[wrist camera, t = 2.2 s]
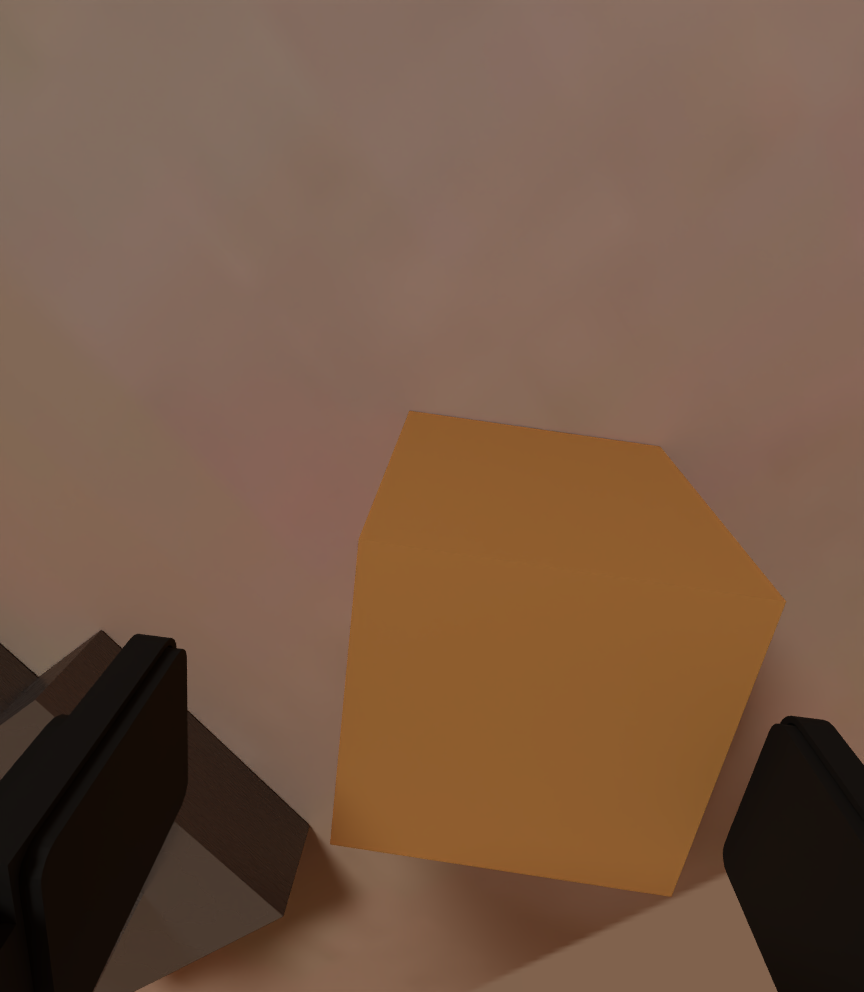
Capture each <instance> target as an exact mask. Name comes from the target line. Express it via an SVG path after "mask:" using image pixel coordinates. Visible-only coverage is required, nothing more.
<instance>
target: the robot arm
mask: <svg viewBox="0 0 864 992" xmlns="http://www.w3.org/2000/svg"><path fill="white" fill-rule="evenodd" d="M187 785H188V724H187V655H186V651H185V650H184V649H178V648H176V643H175V640H174V639H172V638H166V637H158V636H151V635H143V634H136V635H134V636H133V637H132V638H131V639H130V640H129V641H128V642H127V644H126V645H125V646H124V647H123V649H122V650H121V651H120V652H119V654H118V655H117V656H116V657H115V659H114V660H113V661H112V662H111V664H110V665H109V666H108V667H107V669H106V670H105V671H104V672H103V674H102V675H101V676H100V677H99V678H98V680H97V681H96V682H95V683H94V685H93V686H92V687H91V688H90V690H89V691H88V692H87V693H86V695H85V696H84V697H83V698H82V700H81V701H80V702H79V703H78V705H77V706H76V707H75V708H74V710H73V711H72V712H71V713H70V715H65V714H61V715H58V716H56V717H54V718H53V719H52V720H51V721H50V722H49V723H48V724H47V725H46V726H45V727H44V729H43V730H42V731H41V732H40V733H39V735H38V736H37V737H36V738H35V739H34V740H33V742H32V743H31V744H30V745H29V746H28V748H27V749H26V750H25V751H24V752H23V754H22V755H21V756H20V757H19V758H18V760H17V761H16V762H15V763H14V764H13V766H12V767H11V768H10V769H9V770H8V772H7V773H6V774H5V775H4V776H3V778H2V779H1V780H0V992H93V990H94V988H95V986H96V984H97V982H98V980H99V978H100V976H101V973H102V971H103V969H104V967H105V965H106V963H107V961H108V959H109V957H110V955H111V953H112V950H113V948H114V946H115V944H116V942H117V940H118V938H119V936H120V934H121V932H122V930H123V927H124V925H125V923H126V921H127V919H128V917H129V915H130V913H131V911H132V909H133V906H134V904H135V902H136V900H137V898H138V896H139V894H140V892H141V890H142V888H143V886H144V883H145V881H146V879H147V877H148V875H149V873H150V871H151V869H152V867H153V865H154V863H155V860H156V858H157V856H158V854H159V852H160V850H161V848H162V846H163V844H164V842H165V839H166V837H167V835H168V833H169V831H170V829H171V827H172V825H173V823H174V821H175V819H176V816H177V814H178V812H179V810H180V808H181V806H182V804H183V801H184V798H185V795H186V790H187ZM723 861H724V867H725V870H726V872H727V875H728V877H729V879H730V882H731V884H732V886H733V888H734V891H735V893H736V896H737V898H738V900H739V903H740V905H741V907H742V910H743V912H744V914H745V917H746V919H747V921H748V924H749V926H750V928H751V931H752V933H753V935H754V938H755V940H756V942H757V945H758V947H759V949H760V951H761V954H762V956H763V958H764V961H765V963H766V966H767V968H768V970H769V972H770V975H771V977H772V980H773V982H774V984H775V987H776V989H777V991H778V992H864V765H863V764H862V762H861V761H860V760H859V758H858V757H857V756H856V755H855V753H854V752H853V751H852V749H851V748H850V747H849V746H848V744H847V743H846V742H845V740H844V739H843V738H842V736H841V735H840V734H839V733H838V731H837V730H836V729H835V727H834V726H833V725H832V724H831V723H829V722H828V721H825V720H820V719H812V718H804V717H796V716H787V717H785V718H784V719H783V720H782V721H781V723H780V724H774V725H773V726H772V727H771V729H770V731H769V733H768V736H767V738H766V741H765V743H764V746H763V748H762V751H761V753H760V756H759V758H758V761H757V763H756V766H755V768H754V771H753V773H752V776H751V778H750V781H749V783H748V786H747V788H746V791H745V793H744V796H743V798H742V801H741V803H740V806H739V809H738V811H737V814H736V816H735V819H734V821H733V824H732V826H731V829H730V831H729V834H728V836H727V839H726V841H725V844H724V848H723Z"/></svg>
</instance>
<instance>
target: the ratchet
mask: <svg viewBox="0 0 864 992" xmlns="http://www.w3.org/2000/svg"><path fill="white" fill-rule="evenodd" d="M121 650H122V649H121V648H120V647H119V646H117V645H116V644H115V643H114V642H113V641H112V640H111V639H110V638H109V637H108V636H107V635H106V634H105V633H104V632H103V631H102V630H100V631H99V632H98V633H96V634H95V635H94V636H92V637H91V638H90V639H89V640H87V641H86V642H85V643H83V644H82V645H81V646H79V647H78V648H77V649H75V650H74V651H73V652H71V653H70V654H69V655H67V656H66V657H65V658H63V659H62V660H61V661H59V662H58V663H57V664H55V665H54V666H53V667H51V668H50V669H49V670H47V671H46V672H45V673H43V674H42V675H41V676H39V677H36V676H35V675H34V674H33V673H32V672H31V671H30V670H29V669H27V668H26V667H25V666H24V665H23V664H22V663H21V662H19V661H18V660H17V659H16V658H15V657H14V656H13V655H12V654H10V653H9V652H8V651H7V650H6V649H5V648H4V647H3V646H1V645H0V780H1V779H2V778H3V776H4V775H5V774H6V773H7V772H8V770H9V769H10V768H11V767H12V766H13V764H14V763H15V762H16V761H17V760H18V758H19V757H20V756H21V755H22V754H23V752H24V751H25V750H26V749H27V748H28V746H29V745H30V744H31V743H32V742H33V740H34V739H35V738H36V737H37V736H38V735H39V733H40V732H41V731H42V730H43V729H44V727H45V726H46V725H47V724H48V723H49V722H50V721H51V720H52V719H53V718H54V717H56V716H58V715H61V714H65V715H70V713H71V712H72V711H73V710H74V708H75V707H76V706H77V705H78V703H79V702H80V701H81V700H82V698H83V697H84V696H85V695H86V693H87V692H88V691H89V690H90V688H91V687H92V686H93V685H94V683H95V682H96V681H97V680H98V678H99V677H100V676H101V675H102V674H103V672H104V671H105V670H106V669H107V667H108V666H109V665H110V664H111V662H112V661H113V660H114V659H115V657H116V656H117V655H118V654H119V652H120V651H121ZM187 724H188V785H187V790H186V795H185V798H184V801H183V804H182V806H181V808H180V810H179V812H178V814H177V816H176V819H175V821H174V823H173V825H172V827H171V829H170V831H169V833H168V835H167V837H166V839H165V842H164V844H163V846H162V848H161V850H160V852H159V854H158V856H157V858H156V860H155V863H154V865H153V867H152V869H151V871H150V873H149V875H148V877H147V879H146V881H145V883H144V886H143V888H142V890H141V892H140V894H139V896H138V898H137V900H136V902H135V904H134V906H133V909H132V911H131V913H130V915H129V917H128V919H127V921H126V923H125V925H124V927H123V930H122V932H121V934H120V936H119V938H118V940H117V942H116V944H115V946H114V948H113V950H112V953H111V955H110V957H109V959H108V961H107V963H106V965H105V967H104V969H103V971H102V973H101V976H100V978H99V980H98V982H97V984H96V986H95V988H94V990H93V992H134V991H136V990H138V989H140V988H142V987H144V986H146V985H148V984H150V983H152V982H154V981H156V980H158V979H160V978H162V977H164V976H166V975H168V974H170V973H172V972H174V971H176V970H178V969H180V968H182V967H184V966H186V965H188V964H190V963H192V962H194V961H196V960H198V959H200V958H202V957H204V956H206V955H208V954H210V953H212V952H214V951H216V950H218V949H220V948H222V947H224V946H226V945H228V944H230V943H232V942H234V941H235V940H237V939H239V938H241V937H243V936H245V935H247V934H249V933H251V932H253V931H255V930H257V929H259V928H261V927H263V926H265V925H267V924H269V923H271V922H273V921H275V920H277V919H279V918H281V917H283V916H284V912H285V909H286V905H287V902H288V898H289V895H290V891H291V888H292V884H293V881H294V877H295V874H296V870H297V867H298V864H299V860H300V857H301V853H302V850H303V846H304V843H305V839H306V836H307V832H308V829H309V825H308V824H307V823H306V822H305V821H304V820H303V819H302V818H300V817H299V816H298V815H297V814H296V813H295V812H294V811H293V810H292V809H291V808H290V807H289V806H288V805H287V804H286V803H285V802H283V801H282V800H281V799H280V798H279V797H278V796H277V795H276V794H275V793H274V792H273V791H272V790H271V789H270V788H269V787H268V786H266V785H265V784H264V783H263V782H262V781H261V780H260V779H259V778H258V777H257V776H256V775H255V774H254V773H253V772H252V771H250V770H249V769H248V768H247V767H246V766H245V765H244V764H243V763H242V762H241V761H240V760H239V759H238V758H237V757H236V756H235V755H233V754H232V753H231V752H230V751H229V750H228V749H227V748H226V747H225V746H224V745H223V744H222V743H221V742H220V741H219V740H218V739H216V738H215V737H214V736H213V735H212V734H211V733H210V732H209V731H208V730H207V729H206V728H205V727H204V726H203V725H202V724H200V723H199V722H198V721H197V720H196V719H195V718H194V717H193V716H192V715H191V714H190V713H189V712H188V711H187Z"/></svg>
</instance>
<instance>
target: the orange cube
mask: <svg viewBox="0 0 864 992" xmlns="http://www.w3.org/2000/svg"><path fill="white" fill-rule="evenodd" d="M785 603H786V601H785V600H784V598H783V597H782V596H781V595H780V594H779V592H778V591H777V590H776V589H775V587H774V586H773V585H772V584H771V582H770V581H769V580H768V579H767V578H766V576H765V575H764V574H763V573H762V571H761V570H760V569H759V568H758V566H757V565H756V564H755V563H754V562H753V560H752V559H751V558H750V557H749V555H748V554H747V553H746V552H745V550H744V549H743V548H742V547H741V546H740V544H739V543H738V542H737V541H736V539H735V538H734V537H733V536H732V534H731V533H730V532H729V531H728V530H727V528H726V527H725V526H724V525H723V523H722V522H721V521H720V520H719V518H718V517H717V516H716V515H715V514H714V512H713V511H712V510H711V509H710V507H709V506H708V505H707V504H706V502H705V501H704V500H703V499H702V498H701V496H700V495H699V494H698V493H697V491H696V490H695V489H694V488H693V486H692V485H691V484H690V483H689V482H688V480H687V479H686V478H685V477H684V475H683V474H682V473H681V472H680V470H679V469H678V468H677V467H676V466H675V464H674V463H673V462H672V461H671V459H670V458H669V457H668V456H667V454H666V453H665V452H664V451H663V450H662V448H661V447H660V446H653V445H646V444H639V443H632V442H625V441H617V440H610V439H603V438H596V437H589V436H582V435H575V434H568V433H561V432H554V431H547V430H540V429H533V428H526V427H519V426H512V425H505V424H498V423H491V422H484V421H477V420H470V419H463V418H456V417H449V416H442V415H435V414H428V413H421V412H414V411H409V413H408V416H407V418H406V421H405V423H404V426H403V429H402V431H401V434H400V436H399V439H398V441H397V444H396V446H395V449H394V451H393V454H392V456H391V459H390V461H389V464H388V467H387V469H386V472H385V474H384V477H383V479H382V482H381V484H380V487H379V489H378V492H377V494H376V497H375V499H374V502H373V505H372V507H371V510H370V512H369V515H368V517H367V520H366V522H365V525H364V527H363V530H362V532H361V535H360V537H359V543H358V553H357V564H356V575H355V585H354V596H353V606H352V617H351V628H350V638H349V649H348V660H347V670H346V681H345V691H344V702H343V713H342V723H341V734H340V745H339V755H338V766H337V777H336V787H335V798H334V808H333V819H332V830H331V840H330V844H331V845H338V846H344V847H351V848H357V849H364V850H370V851H377V852H383V853H390V854H396V855H403V856H409V857H416V858H422V859H429V860H435V861H442V862H448V863H455V864H461V865H468V866H474V867H481V868H487V869H494V870H500V871H507V872H513V873H520V874H526V875H533V876H539V877H546V878H552V879H559V880H565V881H572V882H578V883H585V884H591V885H597V886H604V887H610V888H617V889H623V890H630V891H636V892H643V893H649V894H656V895H662V896H669V897H672V894H673V891H674V889H675V886H676V884H677V881H678V879H679V876H680V873H681V871H682V868H683V866H684V863H685V861H686V858H687V855H688V853H689V850H690V848H691V845H692V843H693V840H694V837H695V835H696V832H697V830H698V827H699V824H700V822H701V819H702V817H703V814H704V812H705V809H706V806H707V804H708V801H709V799H710V796H711V794H712V791H713V788H714V786H715V783H716V781H717V778H718V776H719V773H720V770H721V768H722V765H723V763H724V760H725V758H726V755H727V752H728V750H729V747H730V745H731V742H732V740H733V737H734V734H735V732H736V729H737V727H738V724H739V722H740V719H741V716H742V714H743V711H744V709H745V706H746V703H747V701H748V698H749V696H750V693H751V691H752V688H753V685H754V683H755V680H756V678H757V675H758V673H759V670H760V667H761V665H762V662H763V660H764V657H765V655H766V652H767V649H768V647H769V644H770V642H771V639H772V637H773V634H774V631H775V629H776V626H777V624H778V621H779V619H780V616H781V613H782V611H783V608H784V606H785Z"/></svg>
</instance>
